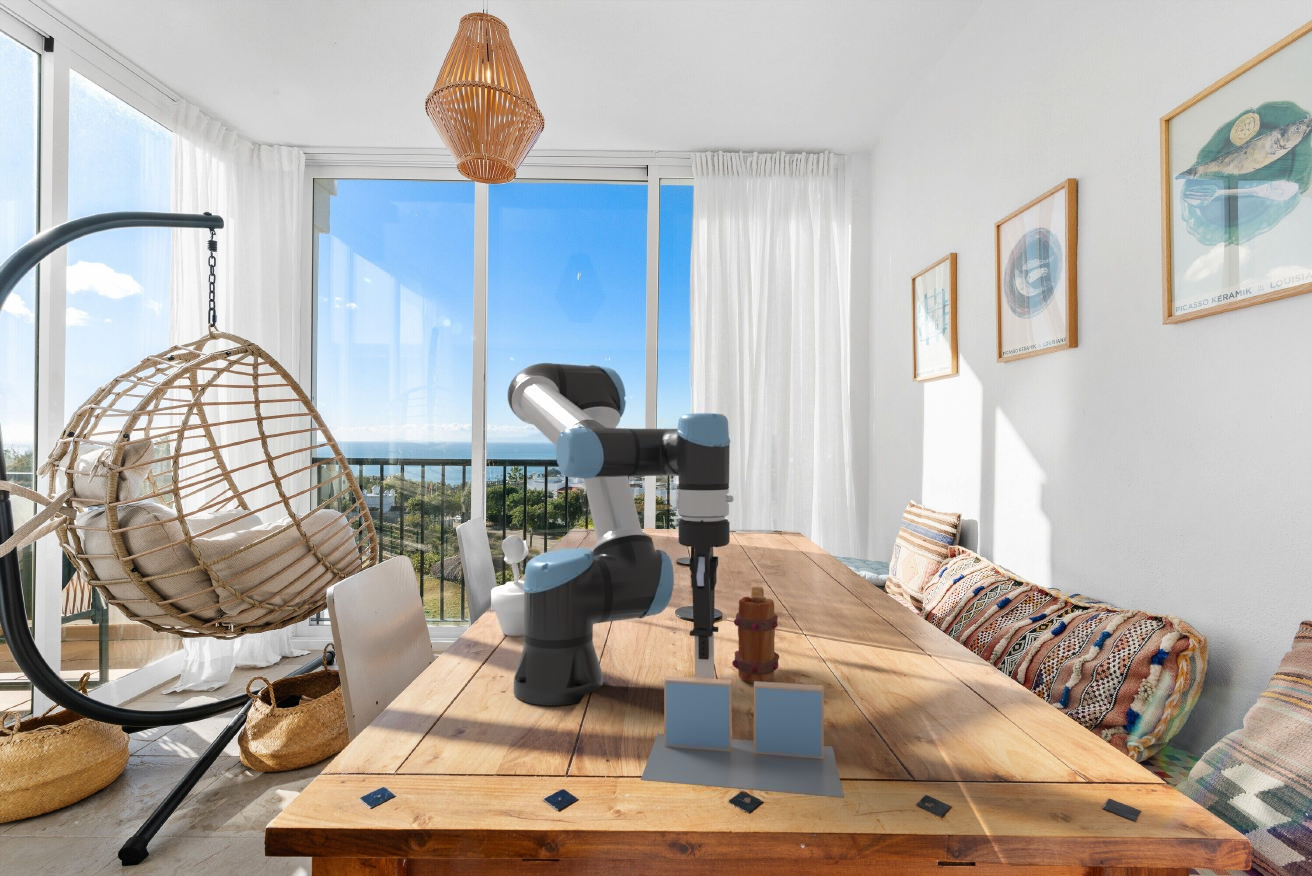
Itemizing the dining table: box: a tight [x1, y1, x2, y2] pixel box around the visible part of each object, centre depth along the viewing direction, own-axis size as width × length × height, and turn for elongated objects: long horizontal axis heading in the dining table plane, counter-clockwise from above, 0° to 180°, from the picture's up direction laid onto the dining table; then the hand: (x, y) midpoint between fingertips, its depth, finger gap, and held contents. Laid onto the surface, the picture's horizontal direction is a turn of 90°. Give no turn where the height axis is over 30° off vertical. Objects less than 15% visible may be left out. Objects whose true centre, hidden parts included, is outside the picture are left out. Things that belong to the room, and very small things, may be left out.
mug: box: [731, 586, 780, 684], centre depth 122 cm, size 15×8×15 cm, turn 168°
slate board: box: [640, 733, 844, 799], centre depth 86 cm, size 24×13×1 cm, turn 81°
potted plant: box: [490, 528, 540, 637], centre depth 148 cm, size 13×12×25 cm
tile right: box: [753, 681, 825, 759], centre depth 88 cm, size 9×2×9 cm, turn 81°
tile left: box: [663, 675, 733, 752], centre depth 90 cm, size 9×2×9 cm, turn 81°
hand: (704, 678), depth 98 cm, fingers closed
